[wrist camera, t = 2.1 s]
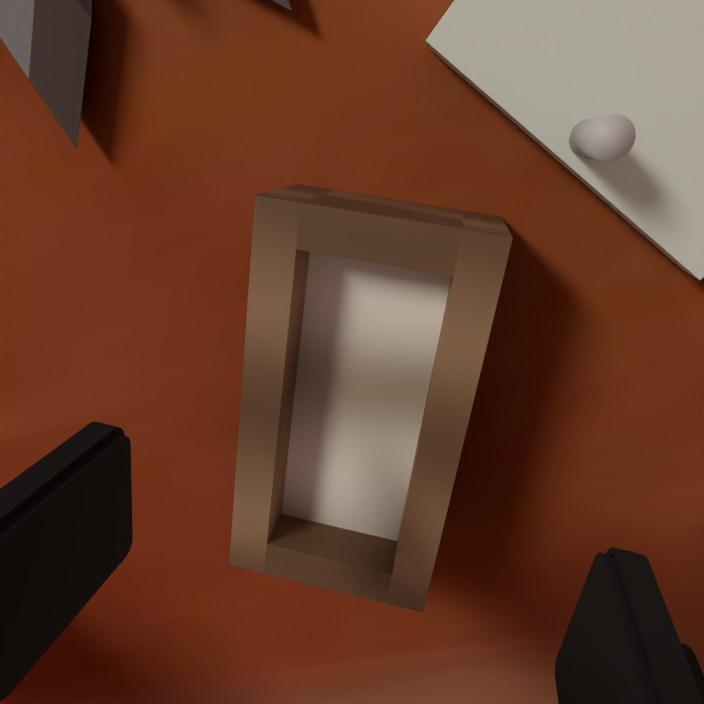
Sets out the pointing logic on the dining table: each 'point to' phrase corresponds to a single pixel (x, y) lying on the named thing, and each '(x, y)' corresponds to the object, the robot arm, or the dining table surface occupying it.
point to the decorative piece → (53, 51)
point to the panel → (600, 99)
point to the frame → (358, 385)
